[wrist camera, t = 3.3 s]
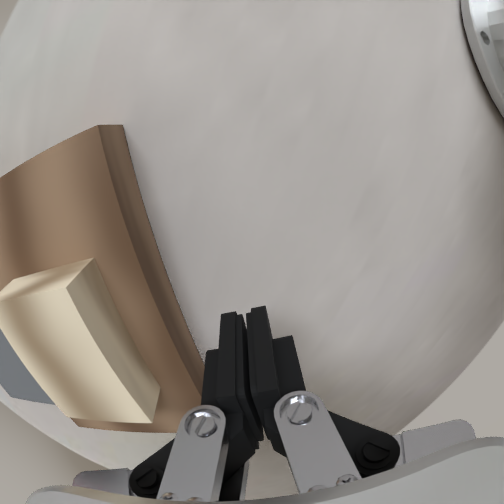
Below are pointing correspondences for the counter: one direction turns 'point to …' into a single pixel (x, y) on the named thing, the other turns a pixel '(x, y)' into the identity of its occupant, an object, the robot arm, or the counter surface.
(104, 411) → the birch tile
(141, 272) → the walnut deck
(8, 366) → the rubber mat
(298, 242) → the counter surface
